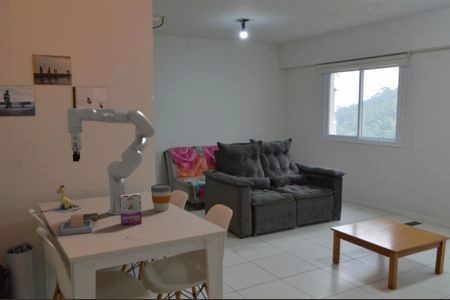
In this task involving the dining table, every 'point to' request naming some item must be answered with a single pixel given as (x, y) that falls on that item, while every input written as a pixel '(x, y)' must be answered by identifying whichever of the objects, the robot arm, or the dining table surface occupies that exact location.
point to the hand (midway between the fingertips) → (76, 160)
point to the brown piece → (90, 216)
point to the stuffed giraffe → (64, 202)
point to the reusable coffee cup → (161, 196)
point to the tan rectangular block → (77, 221)
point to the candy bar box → (130, 209)
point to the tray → (67, 228)
